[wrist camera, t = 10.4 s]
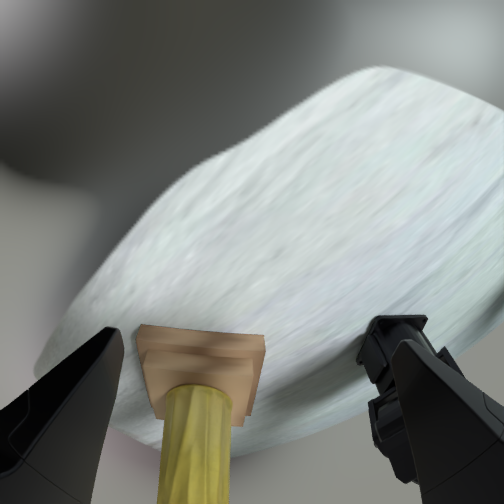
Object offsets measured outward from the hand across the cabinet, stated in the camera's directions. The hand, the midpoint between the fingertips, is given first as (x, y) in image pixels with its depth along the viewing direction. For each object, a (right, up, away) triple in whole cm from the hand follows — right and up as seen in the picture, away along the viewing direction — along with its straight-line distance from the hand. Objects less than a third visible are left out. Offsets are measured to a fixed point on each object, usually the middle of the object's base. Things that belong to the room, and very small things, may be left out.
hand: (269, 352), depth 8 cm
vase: (-5, -11, +16) cm, 20 cm away
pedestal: (-6, -9, +19) cm, 22 cm away
